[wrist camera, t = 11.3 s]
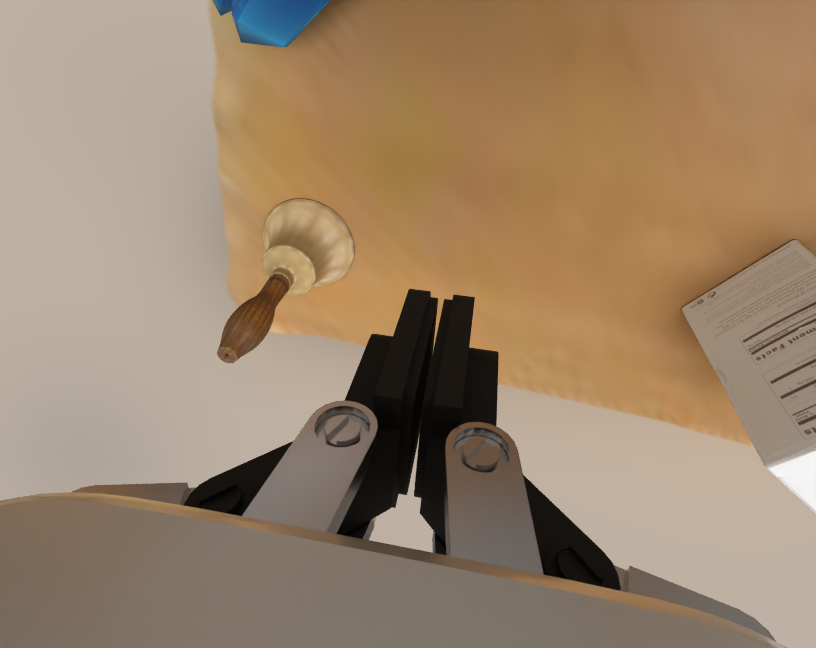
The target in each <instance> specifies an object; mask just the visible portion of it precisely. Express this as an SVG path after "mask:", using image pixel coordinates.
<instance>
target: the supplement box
mask: <svg viewBox="0 0 816 648" xmlns="http://www.w3.org/2000/svg"><path fill="white" fill-rule="evenodd" d="M681 310H682V312H683V314H684V316H685V318H686V319H687V321H688V323H689V325H690V327H691V328H692V330H693V332H694V334H695V336H696V338H697V340H698V341H699V343H700V345H701V347H702V349H703V351H704V353H705V355H706V356H707V358H708V360H709V362H710V364H711V366H712V367H713V369H714V371H715V372H716V374H717V375H718V376H719V378H720V380H721V382H722V384H723V387H724V388H725V390H726V392H727V394H728V396H729V398H730V400H731V403H732V405H733V407H734V409H735V411H736V412H737V414H738V416H739V418H740V420H741V422H742V424H743V426H744V428H745V430H746V432H747V433H748V435H749V437H750V439H751V441H752V443H753V445H754V447H755V449H756V450H757V452H758V454H759V456H760V458H761V460H762V462H763V463H764V465H765V467H766V468H767V469H768V470H769V471H770V472H771V473H772V474H773V475H775V476H776V477H777V478H778V479H779V480H780V481H781V482H782V483H784V484H785V485H786V486H787V487H788V488H789V489H790V490H791V491H792V492H793V493H794V494H795V495H797V496H798V497H799V498H800V499H801V500H802V501H803V502H804V503H805V504H806V505H807V506H808V507H809V508H810V509H811V510H812V511H813V512H814V513H816V256H814V255H813V254H812V253H811V252H810V251H808V250H807V249H806V248H805V247H804V246H803V245H802V244H800V243H799V241H797V240H792V241H790V242H789V243H787V244H785V245H784V246H782V247H781V248H779V249H777V250H776V251H774V252H772V253H771V254H769V255H767V256H766V257H764V258H762V259H761V260H759V261H757V262H756V263H754V264H753V265H751V266H749V267H748V268H746V269H744V270H743V271H741V272H740V273H738V274H736V275H735V276H733V277H731V278H730V279H728V280H727V281H725V282H723V283H722V284H720V285H718V286H717V287H715V288H713V289H712V290H710V291H708V292H707V293H705V294H704V295H702V296H700V297H699V298H697V299H695V300H694V301H692V302H691V303H689V304H687V305H686V306H684V307H683V308H682V309H681Z"/></svg>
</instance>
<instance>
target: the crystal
mask: <svg viewBox="0 0 816 648" xmlns="http://www.w3.org/2000/svg"><path fill="white" fill-rule="evenodd" d="M330 1H331V0H213V2H214V4H215V6H216V8H217V10H218V12H219V14H220V16H221V15H223V14H225V13H227V12H229V11H231V10H232V15H233V18H234V21H235V25H236V28H237V31H238V34H239V37H240V40H241V42H243V43H252V44H260V45H269V46H277V47H287V46H288V45H289V44H290V43H291V42H292V41H293V40H294V39H295V38H296V37H297V36H298V35H299V33H300V32H301V31H302V30H303V29H304V28H305V27H306V26H307V25H308V24H309V23H310V22H311V21H312V20H313V19H314V18H315V17H316V16H317V15H318V14H319V13H320V12H321V11H322V9H323V8H324V7H325V6H326V5H327V4H328V3H329V2H330Z"/></svg>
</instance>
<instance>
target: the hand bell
mask: <svg viewBox="0 0 816 648" xmlns="http://www.w3.org/2000/svg"><path fill="white" fill-rule="evenodd" d="M263 241H264V246H265V250H266V253H265V254H264V256H263V259H262V272H263V275H264V277H265V279H266V280H267V282H266V284H265V285H264V287H263V288H262V290H261V291H260V293H259V294H258V295H257V296H255V297H253V298H251V299H249V300H247V301H246V302H245V303H243V304H242V305H241V306H239V307H238V308H237V309H236V311H235V312H234V313H233V314H232V315H231V316H230V318H229V319H228V321H227V323H226V325H225V327H224V330H223V333H222V339H221V343H220V346H219V349H218V351H217V355H218V357H219V358H220V359H221V360H222V361H224V362H226V363H234V362H235V361H237V360H238V359H239V358H240V357H241V356H243V355H245V354H247V353H248V352H250V351H251V350H253V349H254V348H256V347H257V346H258V345H259V344H260V342H261V341H262V340H263V339H264V338H265V336H266V334H267V333H268V331H269V329H270V327H271V324H272V322H273V318H274V312H275V308H276V306H277V304H278V303H279V302H280V301H281V299H282V298H283V297H284V296H285V294H288V295H299V294H303V293H305V292H307V291H308V290H309V289H310V288H311V287H312V286H326V285H330V284H332V283H335V282H337V281H338V280H340V279H341V278H342V277H344V276H345V275H346V273H347V272H348V271H349V269H350V267H351V265H352V263H353V259H354V252H355V248H354V242H353V238H352V235H351V233H350V230H349V228H348V227H347V225H346V224H345V222H344V221H343V220H342V218H341V217H340V216H339V215H338V214H337V213H335V212H334V211H333V210H332V209H330V208H329V207H327V206H325V205H323V204H321V203H319V202H316V201H313V200H308V199H292V200H288V201H285V202H283V203H281V204H279V205H278V206H276V207H275V208H274V209H273V210H272V211H271V212H270V213H269V215H268V217H267V219H266V221H265V224H264V228H263Z"/></svg>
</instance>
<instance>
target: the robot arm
mask: <svg viewBox="0 0 816 648" xmlns="http://www.w3.org/2000/svg"><path fill="white" fill-rule="evenodd" d="M430 296H431V292H430V291H423V290H415V289H409V291H408V294H407V297H406V300H405V303H404V306H403V309H402V312H401V315H400V318H399V321H398V324H397V327H396V330H395V333H394V335H393V337H392V336H385V335H378V334H372V335H371V337H370V339H369V341H368V344H367V346H366V349H365V351H364V354H363V356H362V359H361V361H360V364H359V366H358V369H357V371H356V374H355V376H354V379H353V381H352V384H351V386H350V389H349V391H348V394H347V396H346V399H345V401H336V402H332V403H329V404H326V405H324V406H323V407H321V408H319V409H317V410H316V411H315V412H314V413H313V414H312V416H311V417H310V418H309V420H308V421H307V423H306V424H305V425H304V427H303V428H302V430H301V431H300V433H299V434H298V436H297V437H296V439H295V440H294V441H293V442H290V443H288V444H286V445H284V446H281V447H279V448H277V449H275V450H272V451H271V452H268V453H266V454H264V455H262V456H259V457H257V458H255V459H252V460H250V461H248V462H246V463H244V464H241V465H239V466H237V467H235V468H232V469H231V470H228V471H226V472H224V473H221V474H219V475H217V476H215V477H212V478H210V479H209V480H207V481H205V482H204V483H202V484H200V485H199V486H198V487H197V488H189V487H188V484H187V483H157V484H125V485H124V484H122V485H94V486H88V487H83V488H80V489H77V490H75V491H73V492H70V493H48V494H37V495H31V496H24V497H18V498H12V499H7V500H2V501H0V648H787V647H785V646H783V645H782V644H779V643H778V642H776V641H775V639H774V638H773V636H772V635H771V634H770V632H769V631H768V630H767V629H766V628H765V627H763V626H762V625H761V624H760V623H759V622H758V621H757V620H756V619H755V618H753V617H751V616H750V615H748V614H746V613H744V612H742V611H741V610H739V609H737V608H734V607H732V606H729V605H727V604H724V603H721V602H719V601H717V600H714V599H712V598H709V597H707V596H704V595H702V594H699V593H696V592H694V591H691V590H689V589H687V588H684V587H682V586H679V585H677V584H674V583H671V582H669V581H666V580H664V579H662V578H659V577H657V576H654V575H652V574H649V573H646V572H644V571H642V570H639V569H637V568H634V567H632V566H629V568H628V569H627V570H624V569H622V568H619V567H617V566H614V565H613V563H612V562H611V560H610V559H609V558H608V557H607V556H606V554H605V553H604V552H603V551H602V550H601V549H600V548H599V547H598V546H597V545H596V544H595V543H594V542H593V541H592V540H591V539H590V538H589V537H588V536H586V535H585V534H584V533H583V532H582V531H581V530H580V529H579V528H578V527H577V526H576V525H575V524H574V523H573V522H572V521H571V520H570V519H569V518H568V517H566V516H565V515H564V513H562V512H561V511H560V510H559V509H558V508H557V507H556V506H555V505H554V504H553V503H552V502H551V501H550V500H549V499H548V498H547V497H546V496H545V495H544V494H542V492H540V491H539V490H538V489H537V488H536V487H535V486H534V485H533V484H532V483H531V482H530V481H529V480H528V479H527V478H526V477H525V476H524V475H523V473H522V468H521V463H520V458H519V454H518V450H517V447H516V445H515V442H514V441H513V440H512V439H511V437H510V436H509V435H508V434H507V433H506V432H504V431H503V430H501V429H500V428H498V427H496V419H497V386H498V352H496V351H489V350H482V349H475V348H469V343H470V334H471V326H472V317H473V308H474V299H475V297H468V296H460V295H453V300H448V299H444V303H443V308H442V313H441V318H440V322H439V327H438V332H437V337H436V341H435V346H434V351H433V345H434V335H435V325H436V315H437V305H438V298H433V297H430ZM432 354H433V356H432ZM419 434H420V436H419ZM418 438H419V448H418V459H417V469H416V481H415V490H414V496H415V497H420V498H421V507H420V514H421V515H422V516H423V518H424V519H425V520H426V521H427V523H428V524H429V525H430V526H431V528H432V529H433V530H434V531H433V538H432V542H433V553H431V552H425V551H421V550H415V549H410V548H405V547H400V546H395V545H390V544H385V543H379V542H374V541H369V538H370V536H371V533H372V531H373V529H374V526H375V521H376V516H378V515H380V514H381V513H383V512H385V511H387V510H388V509H390V508H391V507H394V508H395V507H396V502H397V498H398V494H404V495H407V492H408V487H409V483H410V478H411V473H412V468H413V463H414V458H415V452H416V448H417V443H418Z"/></svg>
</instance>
